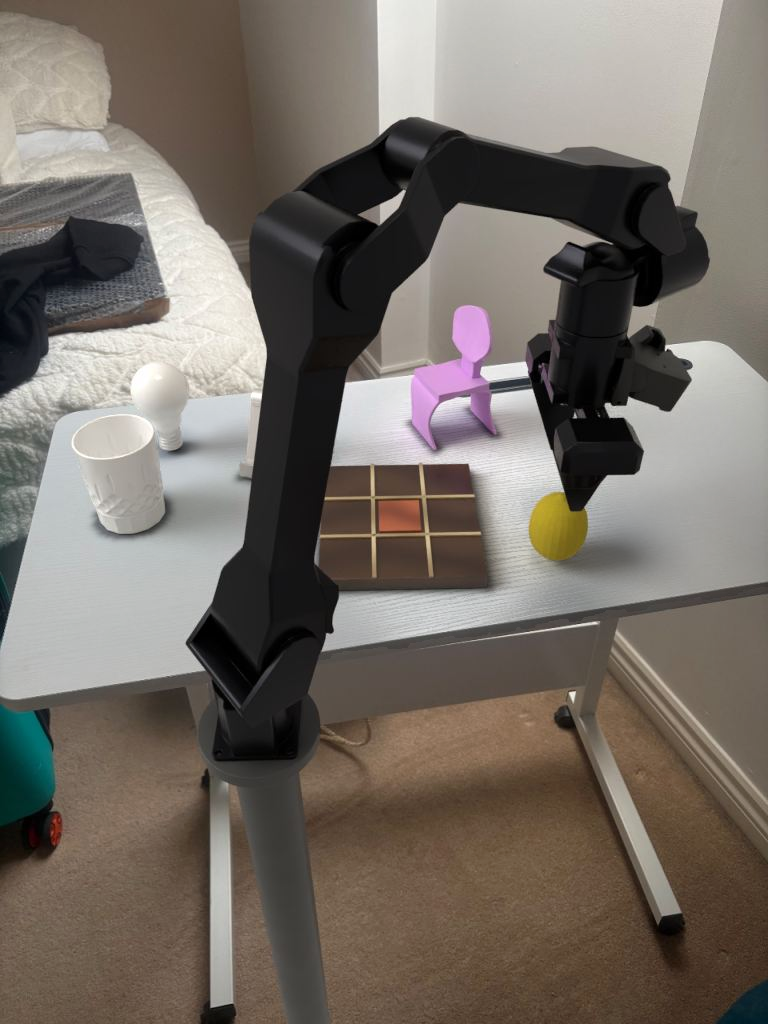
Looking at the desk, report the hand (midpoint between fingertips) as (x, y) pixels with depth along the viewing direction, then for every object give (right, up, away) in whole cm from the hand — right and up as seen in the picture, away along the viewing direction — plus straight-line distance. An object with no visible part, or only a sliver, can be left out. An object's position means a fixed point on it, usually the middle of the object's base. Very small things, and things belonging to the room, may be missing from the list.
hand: (565, 478), depth 76 cm
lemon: (0, -8, +6) cm, 10 cm away
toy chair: (-8, +7, +24) cm, 26 cm away
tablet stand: (-27, +2, +18) cm, 33 cm away
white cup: (-43, -3, +12) cm, 45 cm away
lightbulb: (-41, +4, +21) cm, 47 cm away
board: (-15, -5, +10) cm, 19 cm away
